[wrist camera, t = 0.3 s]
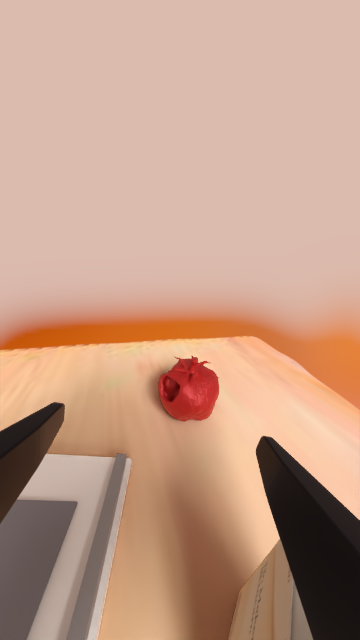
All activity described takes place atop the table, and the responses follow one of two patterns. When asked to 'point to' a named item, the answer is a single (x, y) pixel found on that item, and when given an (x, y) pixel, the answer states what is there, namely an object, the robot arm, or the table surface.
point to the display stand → (61, 548)
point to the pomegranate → (189, 390)
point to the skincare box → (270, 604)
